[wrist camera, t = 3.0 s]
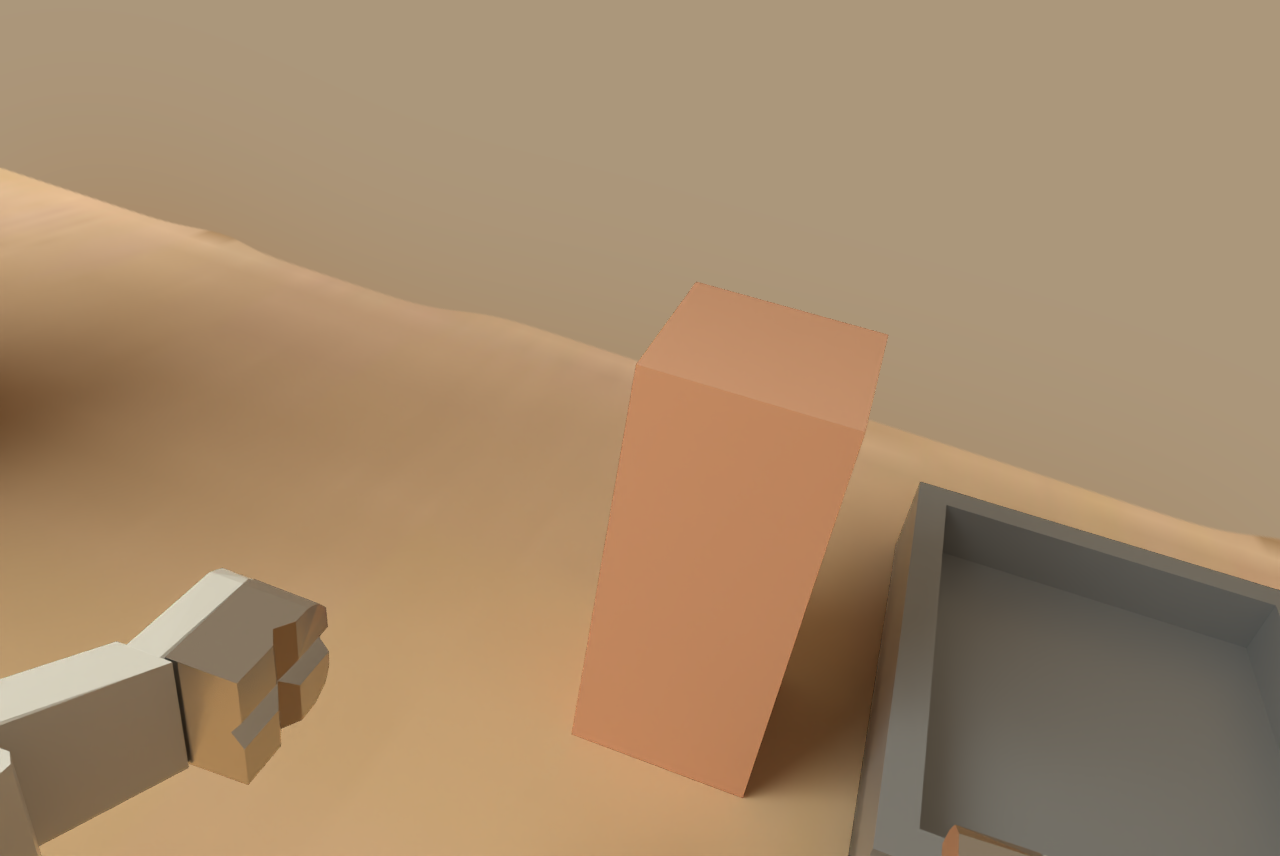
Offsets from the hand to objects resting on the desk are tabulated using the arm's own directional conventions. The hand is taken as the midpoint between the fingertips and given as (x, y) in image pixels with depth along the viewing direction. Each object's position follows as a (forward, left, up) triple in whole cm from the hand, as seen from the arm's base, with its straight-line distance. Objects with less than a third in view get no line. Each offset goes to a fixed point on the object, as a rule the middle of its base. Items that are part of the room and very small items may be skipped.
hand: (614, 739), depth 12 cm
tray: (+12, +15, -12) cm, 23 cm away
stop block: (0, +12, -12) cm, 17 cm away
